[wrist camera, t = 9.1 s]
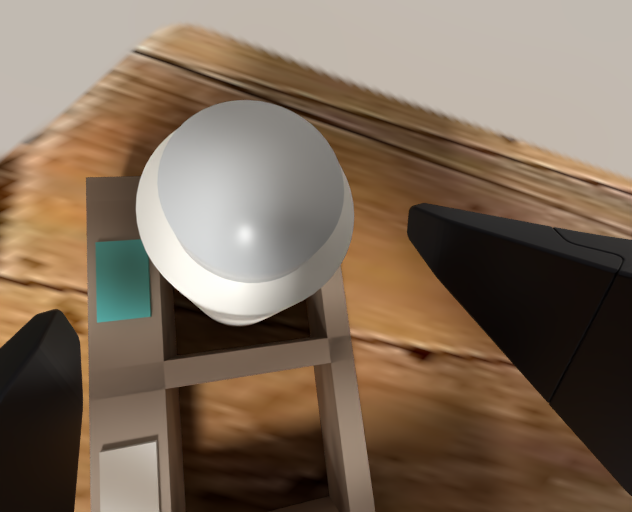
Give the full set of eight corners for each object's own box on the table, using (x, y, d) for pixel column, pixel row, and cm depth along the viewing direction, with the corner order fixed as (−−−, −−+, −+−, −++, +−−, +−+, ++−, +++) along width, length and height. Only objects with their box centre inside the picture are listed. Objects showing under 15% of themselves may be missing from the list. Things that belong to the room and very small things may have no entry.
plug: (299, 293, 19) (419, 220, 7) (226, 345, 17) (217, 367, 6) (251, 224, 19) (285, 37, 7) (175, 270, 18) (60, 137, 6)
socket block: (352, 514, 17) (383, 561, 14) (123, 575, 15) (90, 651, 11) (311, 198, 20) (328, 169, 16) (113, 206, 18) (84, 175, 14)
